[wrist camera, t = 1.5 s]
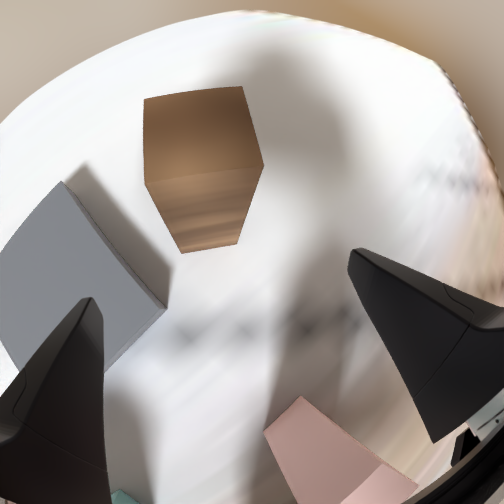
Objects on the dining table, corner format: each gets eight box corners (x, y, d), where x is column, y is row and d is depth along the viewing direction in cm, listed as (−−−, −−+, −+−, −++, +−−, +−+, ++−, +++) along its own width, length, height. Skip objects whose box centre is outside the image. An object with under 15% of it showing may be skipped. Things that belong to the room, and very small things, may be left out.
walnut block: (236, 244, 22) (264, 165, 10) (181, 253, 21) (144, 183, 9) (226, 193, 23) (242, 86, 11) (174, 202, 22) (143, 99, 10)
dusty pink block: (333, 421, 20) (419, 485, 8) (298, 455, 19) (359, 539, 7) (300, 395, 20) (382, 463, 8) (262, 431, 19) (310, 526, 7)
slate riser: (167, 309, 20) (159, 309, 17) (69, 408, 17) (54, 418, 14) (74, 194, 21) (60, 180, 18) (-5, 292, 17) (-23, 289, 15)
